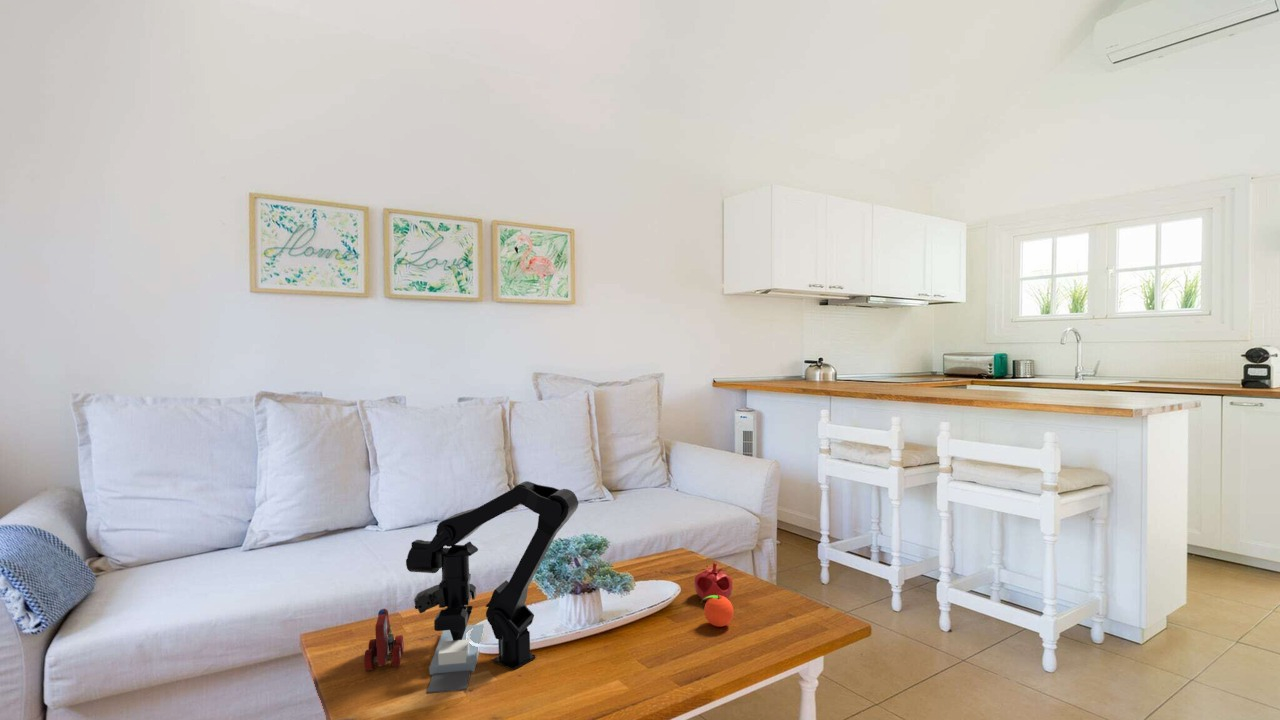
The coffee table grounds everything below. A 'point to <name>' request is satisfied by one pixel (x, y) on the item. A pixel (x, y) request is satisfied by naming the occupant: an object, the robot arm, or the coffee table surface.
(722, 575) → the pomegranate
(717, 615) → the clementine
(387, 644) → the red toy vehicle
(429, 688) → the rubber mat
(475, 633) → the grey board
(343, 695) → the coffee table surface
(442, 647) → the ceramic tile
